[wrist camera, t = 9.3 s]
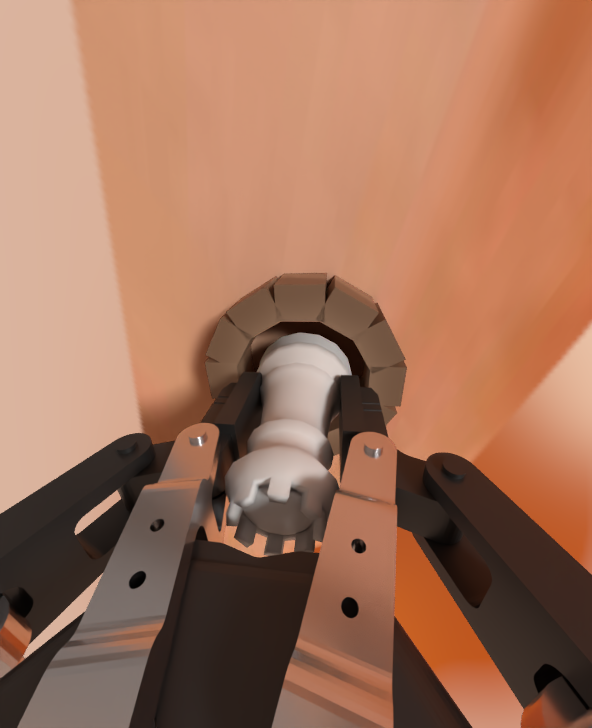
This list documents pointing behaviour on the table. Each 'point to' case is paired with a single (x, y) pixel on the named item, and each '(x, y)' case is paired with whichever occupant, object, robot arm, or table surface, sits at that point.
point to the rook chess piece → (289, 447)
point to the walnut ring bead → (310, 304)
